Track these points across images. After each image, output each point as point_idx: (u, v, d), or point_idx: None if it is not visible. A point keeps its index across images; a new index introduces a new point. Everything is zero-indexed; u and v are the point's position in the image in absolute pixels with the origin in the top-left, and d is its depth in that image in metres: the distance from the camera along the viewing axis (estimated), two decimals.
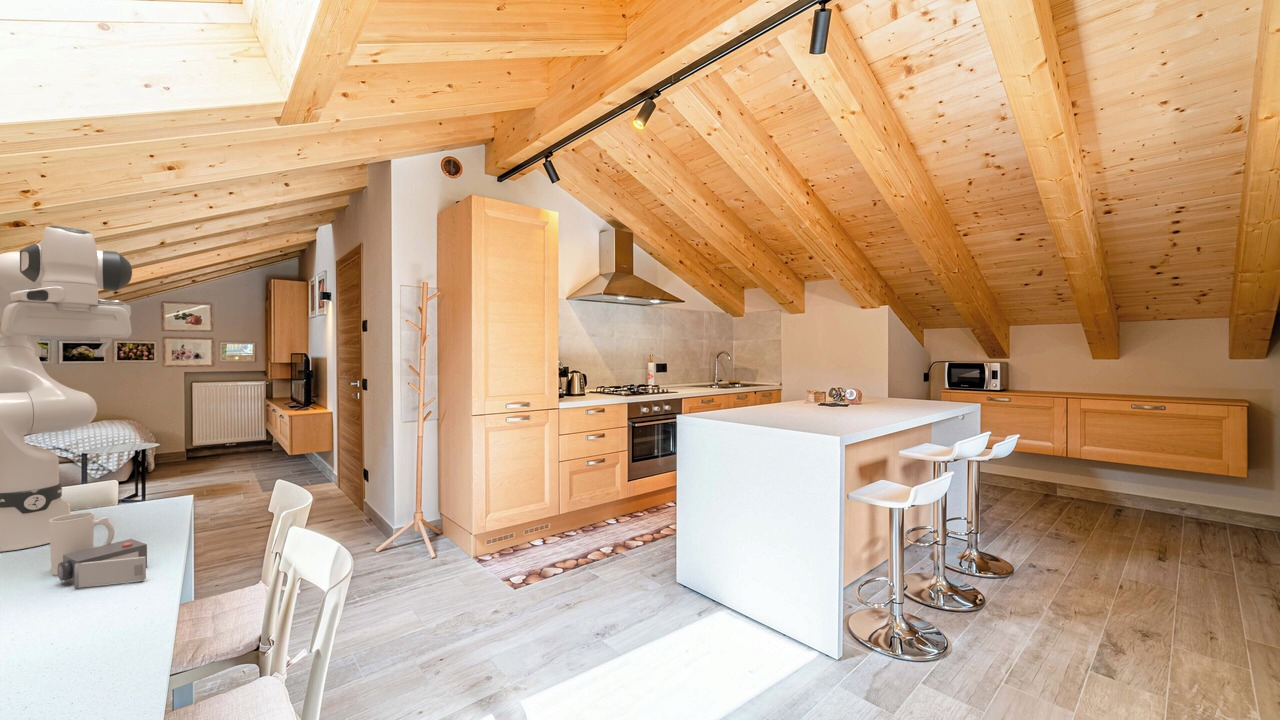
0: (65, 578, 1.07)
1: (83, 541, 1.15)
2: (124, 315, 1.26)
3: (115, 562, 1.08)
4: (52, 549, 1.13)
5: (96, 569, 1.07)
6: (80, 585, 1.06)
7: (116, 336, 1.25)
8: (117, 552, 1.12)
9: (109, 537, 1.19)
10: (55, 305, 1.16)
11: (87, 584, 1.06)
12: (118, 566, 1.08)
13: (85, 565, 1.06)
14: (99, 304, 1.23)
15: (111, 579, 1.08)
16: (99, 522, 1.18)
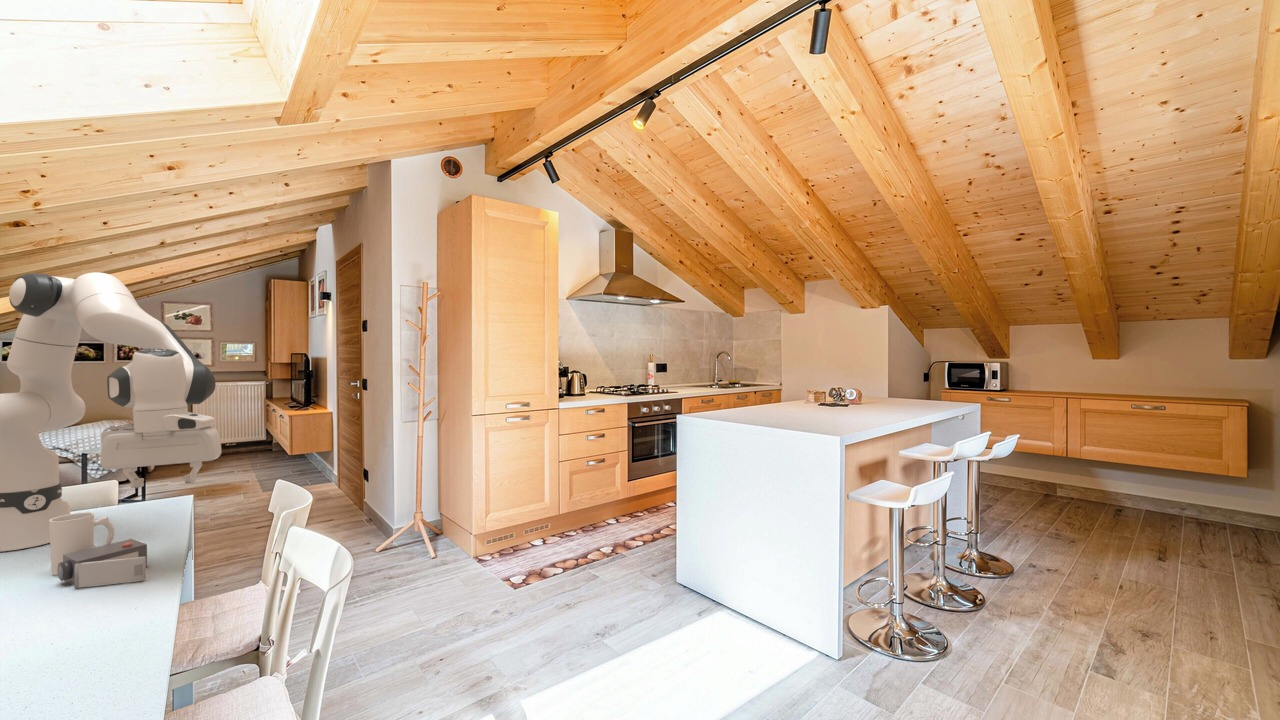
0: (65, 578, 1.07)
1: (83, 541, 1.15)
2: None
3: (115, 562, 1.08)
4: (52, 549, 1.13)
5: (96, 569, 1.07)
6: (80, 585, 1.06)
7: None
8: (117, 552, 1.12)
9: (109, 537, 1.19)
10: None
11: (87, 584, 1.06)
12: (118, 566, 1.08)
13: (85, 565, 1.06)
14: None
15: (111, 579, 1.08)
16: (99, 522, 1.18)
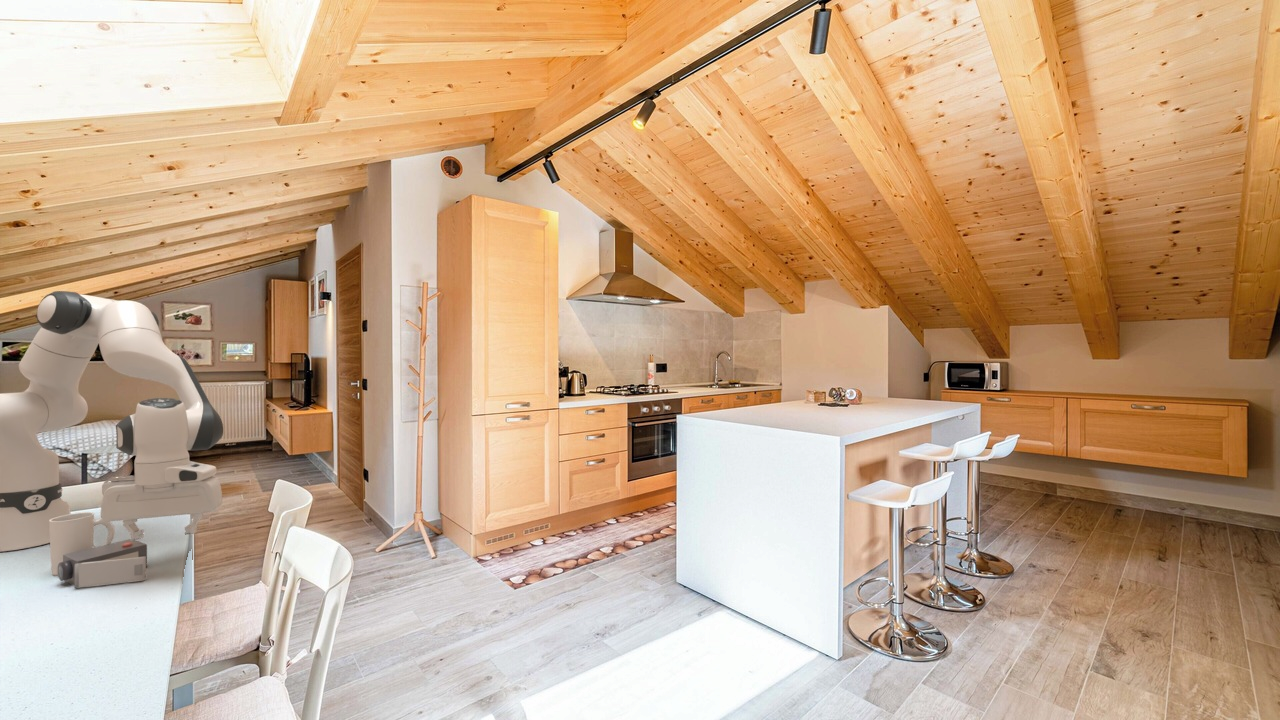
0: (65, 578, 1.07)
1: (83, 541, 1.15)
2: None
3: (115, 562, 1.08)
4: (52, 549, 1.13)
5: (96, 569, 1.07)
6: (80, 585, 1.06)
7: None
8: (117, 552, 1.12)
9: (109, 537, 1.19)
10: None
11: (87, 584, 1.06)
12: (118, 566, 1.08)
13: (85, 565, 1.06)
14: None
15: (111, 579, 1.08)
16: (99, 522, 1.18)
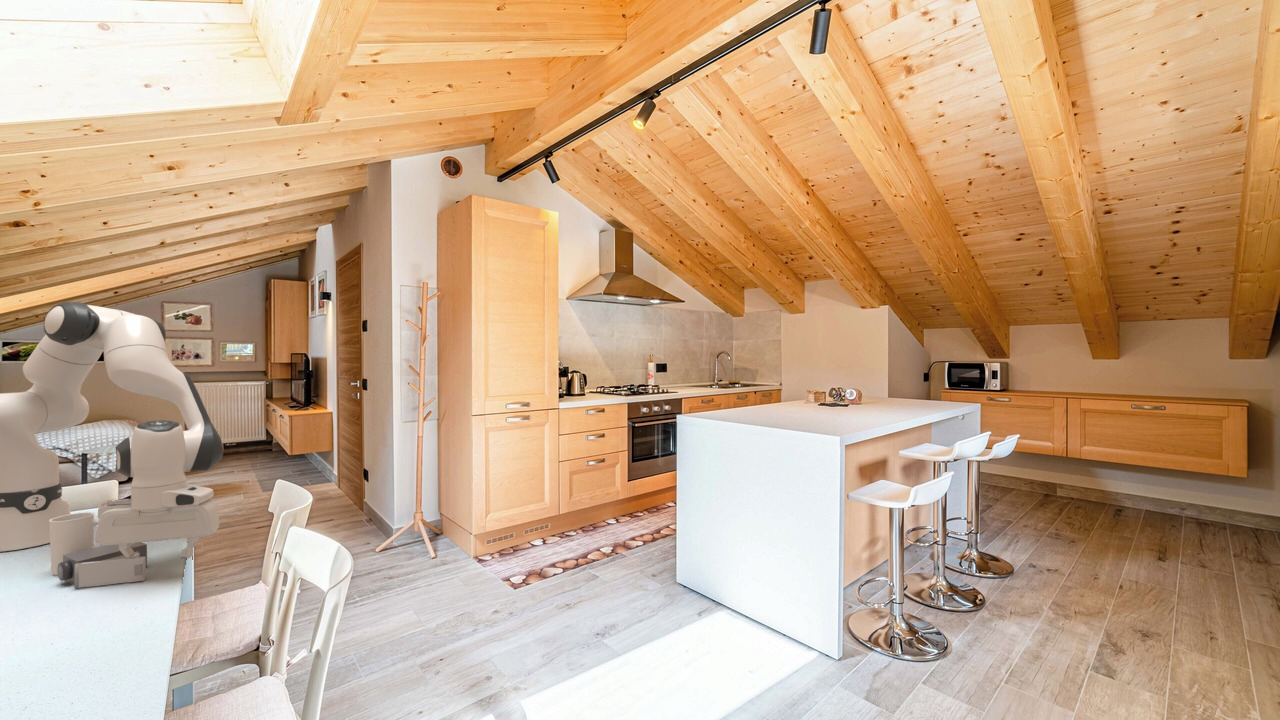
0: (65, 578, 1.07)
1: (83, 541, 1.15)
2: None
3: (115, 562, 1.08)
4: (52, 549, 1.13)
5: (96, 569, 1.07)
6: (80, 585, 1.06)
7: None
8: (117, 552, 1.12)
9: None
10: None
11: (87, 584, 1.06)
12: (118, 566, 1.08)
13: (85, 565, 1.06)
14: None
15: (111, 579, 1.08)
16: None
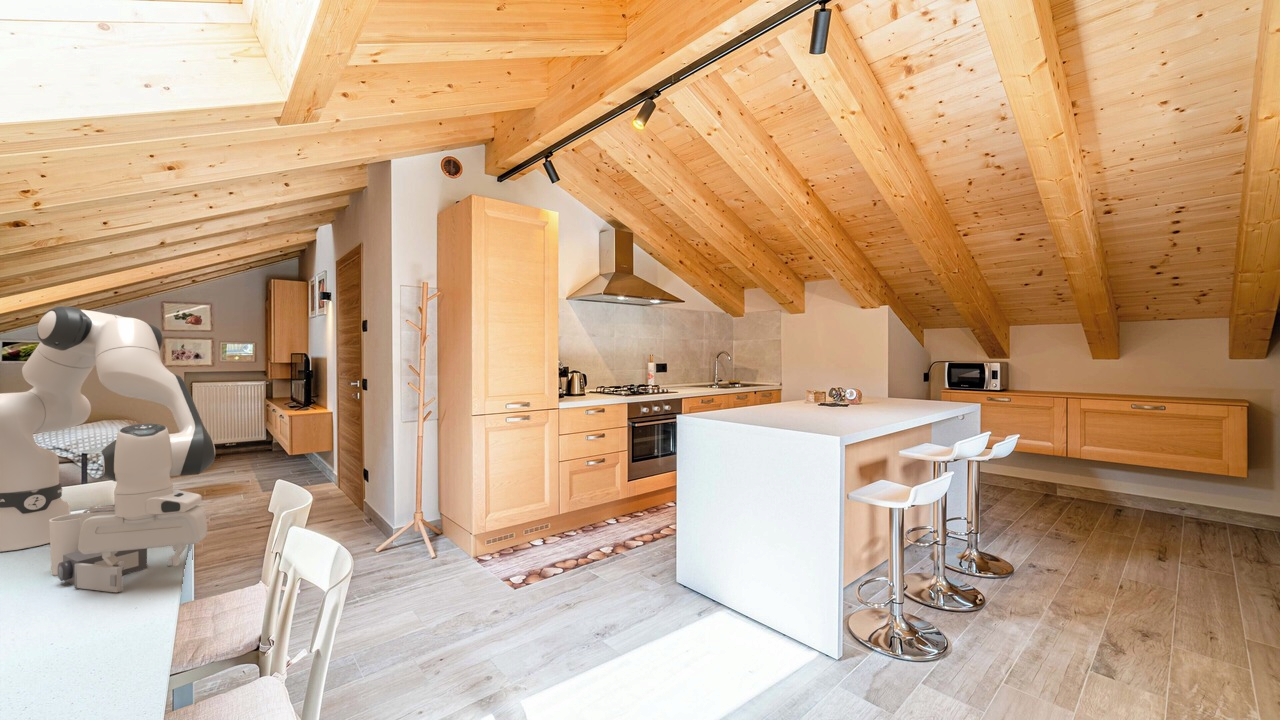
0: (65, 578, 1.07)
1: None
2: None
3: (98, 568, 1.05)
4: (52, 549, 1.13)
5: (87, 572, 1.05)
6: (77, 586, 1.06)
7: None
8: (117, 552, 1.12)
9: None
10: None
11: (82, 586, 1.06)
12: (101, 573, 1.05)
13: (81, 566, 1.06)
14: None
15: (96, 585, 1.05)
16: None
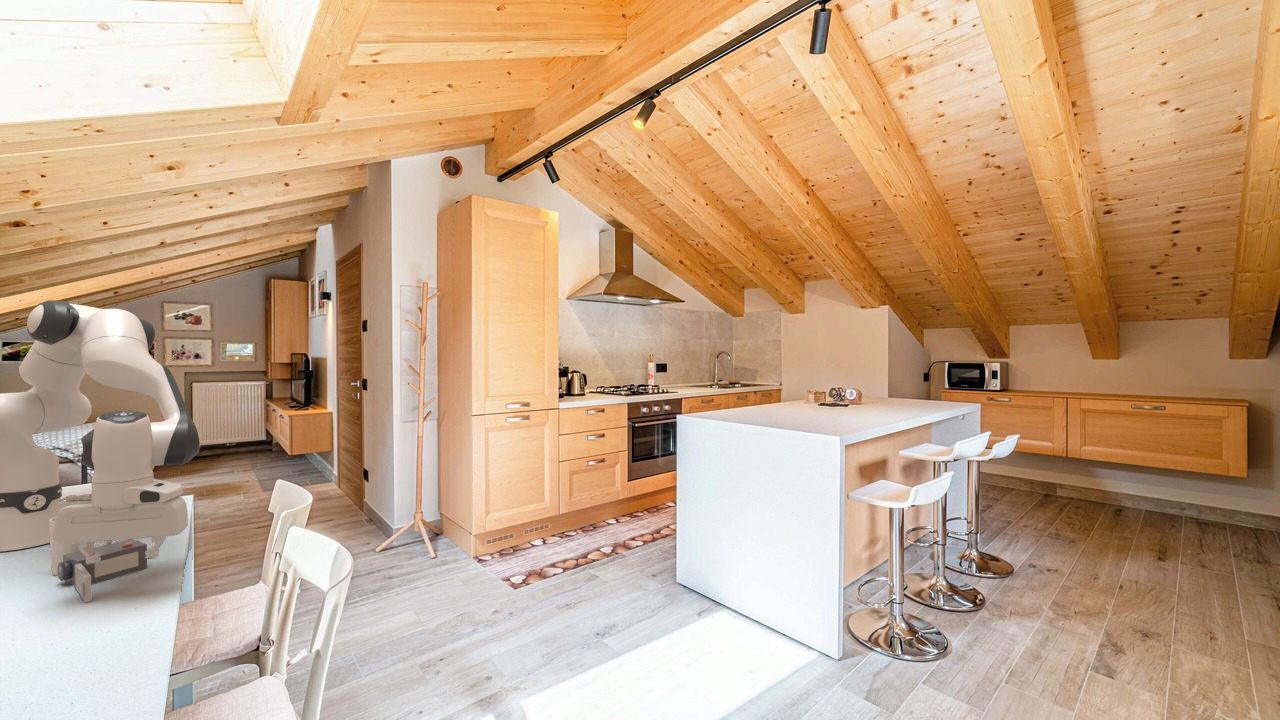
0: (65, 578, 1.07)
1: None
2: None
3: (80, 573, 1.02)
4: (52, 549, 1.13)
5: (77, 575, 1.04)
6: (75, 586, 1.06)
7: None
8: (117, 552, 1.12)
9: None
10: None
11: (76, 587, 1.05)
12: (81, 579, 1.02)
13: (76, 567, 1.05)
14: None
15: (80, 590, 1.03)
16: None
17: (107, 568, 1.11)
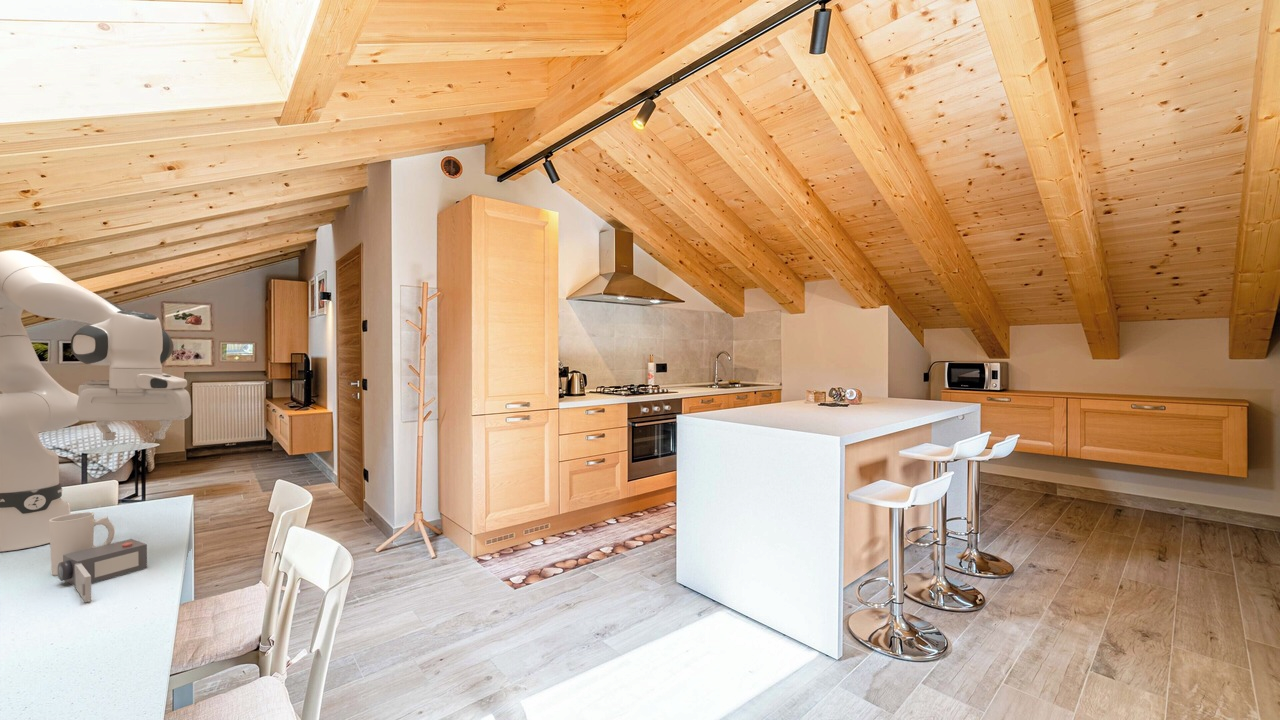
0: (65, 578, 1.07)
1: (83, 541, 1.15)
2: None
3: (80, 573, 1.02)
4: (52, 549, 1.13)
5: (77, 575, 1.04)
6: (75, 586, 1.06)
7: None
8: (117, 552, 1.12)
9: (109, 537, 1.19)
10: None
11: (76, 587, 1.05)
12: (81, 579, 1.02)
13: (76, 567, 1.05)
14: None
15: (80, 590, 1.03)
16: (99, 522, 1.18)
17: (107, 568, 1.11)
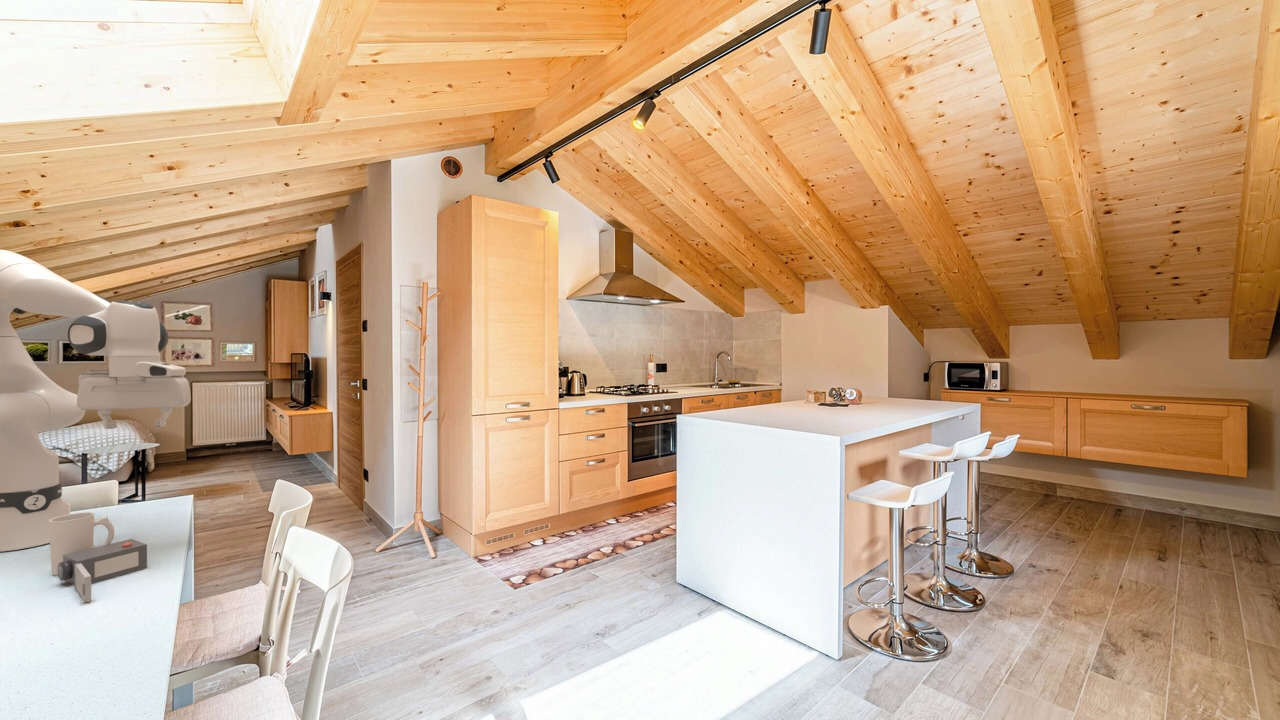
0: (65, 578, 1.07)
1: (83, 541, 1.15)
2: None
3: (80, 573, 1.02)
4: (52, 549, 1.13)
5: (77, 575, 1.04)
6: (75, 586, 1.06)
7: None
8: (117, 552, 1.12)
9: (109, 537, 1.19)
10: None
11: (76, 587, 1.05)
12: (81, 579, 1.02)
13: (76, 567, 1.05)
14: None
15: (80, 590, 1.03)
16: (99, 522, 1.18)
17: (107, 568, 1.11)
